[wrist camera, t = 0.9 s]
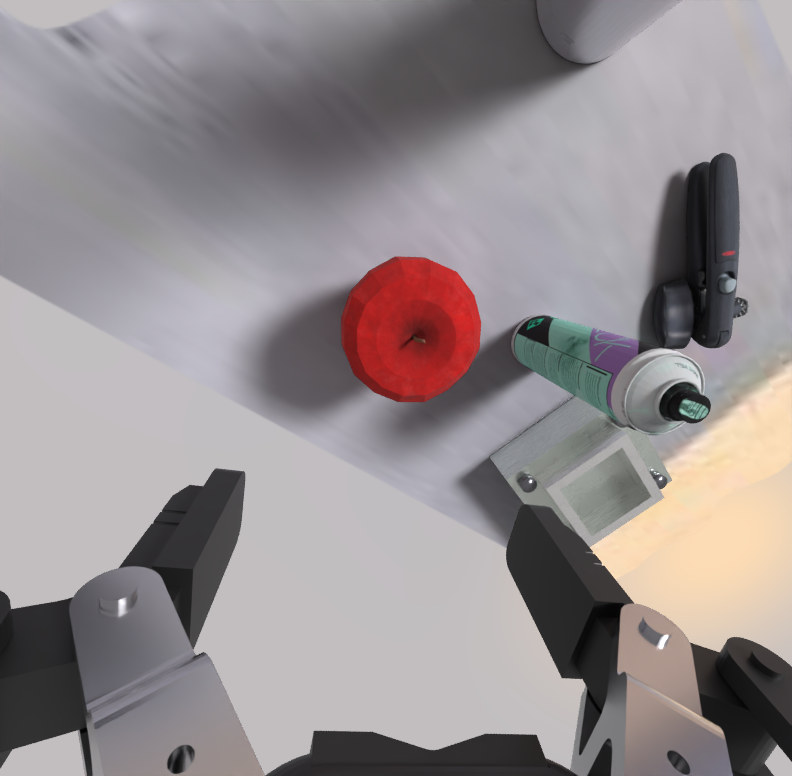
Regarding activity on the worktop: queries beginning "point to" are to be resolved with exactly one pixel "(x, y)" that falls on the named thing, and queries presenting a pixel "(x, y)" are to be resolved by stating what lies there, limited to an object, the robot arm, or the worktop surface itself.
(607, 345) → the spray can
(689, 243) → the can opener
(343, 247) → the worktop surface
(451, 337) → the apple
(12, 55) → the worktop surface
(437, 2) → the worktop surface
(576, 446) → the grey square holder
